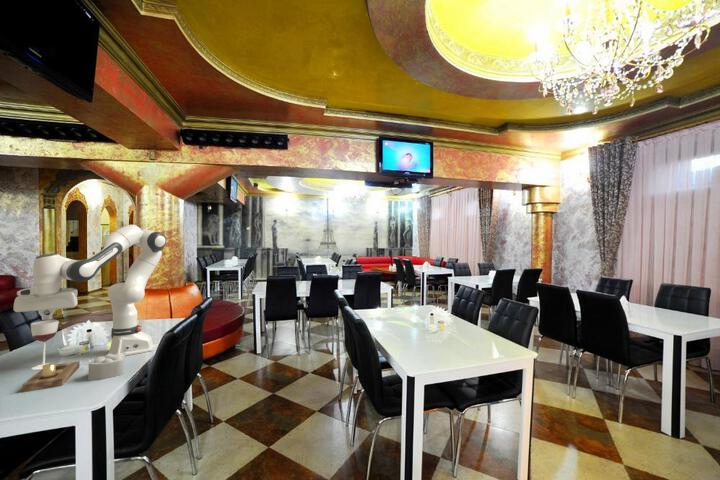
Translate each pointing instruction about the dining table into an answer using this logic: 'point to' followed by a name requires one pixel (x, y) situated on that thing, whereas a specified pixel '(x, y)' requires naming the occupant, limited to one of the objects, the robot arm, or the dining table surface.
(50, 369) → the bushing
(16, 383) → the dining table surface
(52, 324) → the wineglass
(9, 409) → the dining table surface
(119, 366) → the lumpy-topped squat cylinder
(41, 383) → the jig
